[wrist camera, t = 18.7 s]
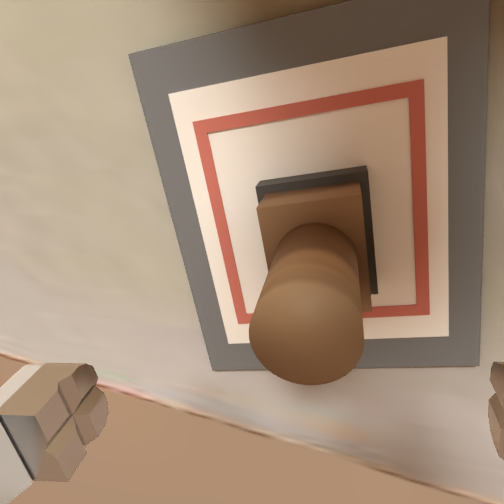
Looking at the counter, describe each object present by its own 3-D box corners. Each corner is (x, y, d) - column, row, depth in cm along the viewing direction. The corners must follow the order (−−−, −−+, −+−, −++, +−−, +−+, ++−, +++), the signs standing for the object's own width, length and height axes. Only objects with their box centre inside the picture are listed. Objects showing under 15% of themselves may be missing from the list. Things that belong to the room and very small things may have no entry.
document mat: (132, 54, 19) (126, 54, 18) (487, -32, 15) (492, -36, 15) (214, 366, 25) (211, 372, 25) (476, 361, 22) (480, 368, 21)
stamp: (260, 180, 20) (202, 254, 11) (366, 165, 18) (386, 236, 10) (280, 289, 22) (243, 416, 14) (376, 282, 20) (399, 417, 12)
